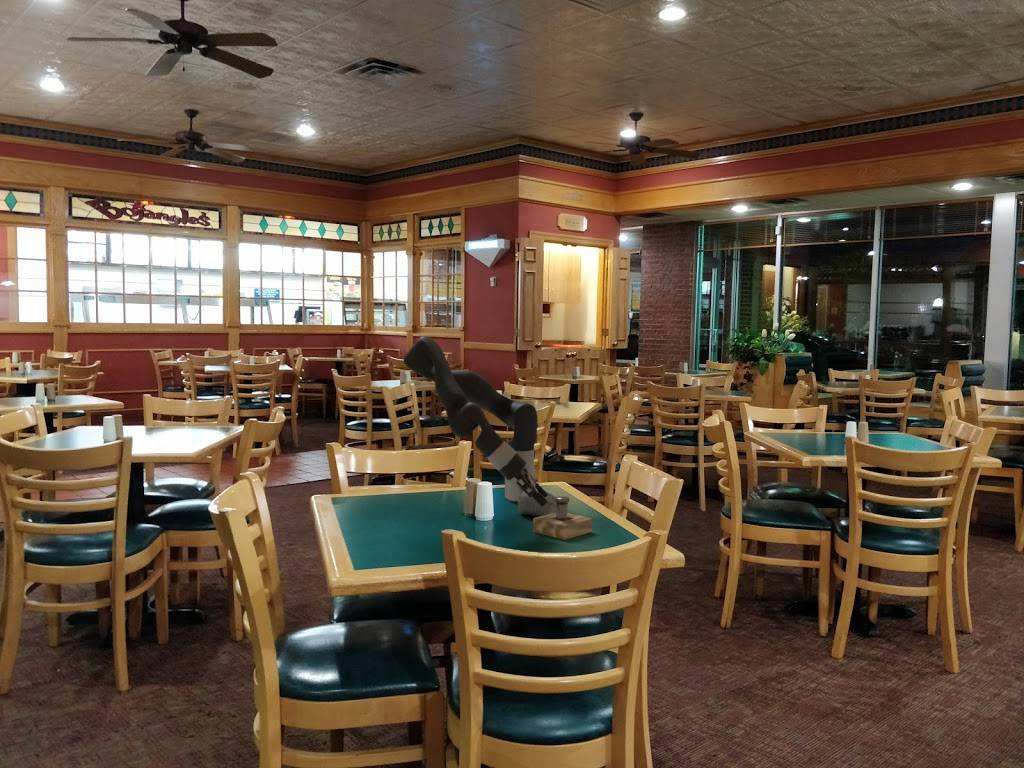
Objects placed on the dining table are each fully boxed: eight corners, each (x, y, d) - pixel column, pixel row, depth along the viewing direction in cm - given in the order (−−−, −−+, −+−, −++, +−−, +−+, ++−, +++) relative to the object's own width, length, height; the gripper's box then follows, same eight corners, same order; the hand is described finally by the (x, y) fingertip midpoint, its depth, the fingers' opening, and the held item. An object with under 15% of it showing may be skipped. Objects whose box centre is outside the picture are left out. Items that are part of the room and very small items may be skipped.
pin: (551, 531, 239) (551, 497, 238) (560, 529, 242) (561, 495, 241) (562, 534, 236) (562, 500, 235) (571, 531, 239) (572, 498, 238)
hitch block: (533, 531, 239) (533, 518, 238) (560, 524, 247) (560, 511, 247) (564, 539, 230) (564, 525, 230) (591, 531, 239) (591, 518, 239)
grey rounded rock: (506, 504, 258) (522, 477, 259) (524, 513, 265) (539, 486, 266) (535, 523, 249) (551, 494, 250) (552, 531, 256) (568, 503, 256)
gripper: (499, 464, 246) (536, 503, 246) (495, 474, 231) (535, 515, 232) (517, 447, 245) (554, 486, 245) (514, 456, 231) (554, 497, 231)
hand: (545, 500), depth 238 cm, fingers open, 8 cm apart
